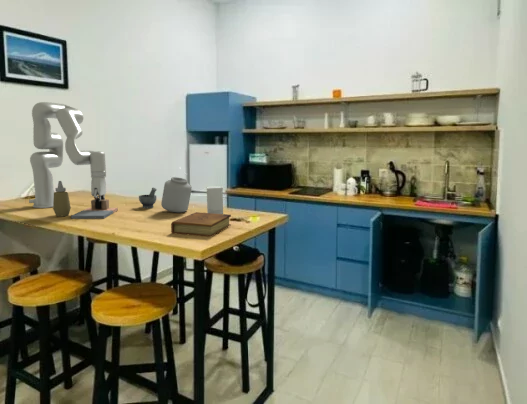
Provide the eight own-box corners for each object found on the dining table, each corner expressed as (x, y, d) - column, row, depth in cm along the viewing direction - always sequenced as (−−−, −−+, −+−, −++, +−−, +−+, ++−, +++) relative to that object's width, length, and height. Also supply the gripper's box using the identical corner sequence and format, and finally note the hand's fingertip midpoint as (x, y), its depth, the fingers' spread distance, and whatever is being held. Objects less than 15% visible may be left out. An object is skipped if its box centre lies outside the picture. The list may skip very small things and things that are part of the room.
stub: (82, 212, 208) (81, 201, 207) (88, 210, 216) (87, 198, 215) (113, 212, 209) (112, 201, 208) (117, 210, 217) (117, 198, 216)
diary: (194, 223, 189) (194, 212, 189) (230, 226, 184) (230, 214, 184) (171, 234, 168) (171, 221, 167) (211, 237, 163) (211, 224, 162)
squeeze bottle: (74, 214, 204) (72, 180, 201) (62, 217, 196) (59, 182, 193) (62, 213, 206) (60, 179, 204) (49, 216, 199) (47, 181, 196)
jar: (199, 210, 220) (199, 166, 216) (187, 215, 206) (186, 168, 202) (170, 208, 226) (169, 165, 222) (156, 212, 212) (154, 166, 208)
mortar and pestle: (135, 207, 226) (135, 187, 224) (146, 205, 234) (146, 185, 232) (151, 209, 221) (150, 188, 219) (161, 207, 230) (161, 186, 228)
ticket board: (71, 218, 194) (71, 215, 194) (82, 213, 208) (82, 210, 208) (104, 218, 195) (104, 215, 195) (113, 213, 209) (112, 210, 209)
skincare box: (222, 214, 209) (222, 186, 206) (223, 217, 202) (223, 187, 200) (206, 215, 207) (206, 186, 205) (207, 217, 201) (206, 187, 198)
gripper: (96, 173, 218) (98, 205, 220) (85, 176, 201) (87, 210, 204) (110, 173, 218) (112, 205, 221) (100, 176, 201) (102, 210, 204)
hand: (100, 207), depth 212 cm, fingers open, 4 cm apart
